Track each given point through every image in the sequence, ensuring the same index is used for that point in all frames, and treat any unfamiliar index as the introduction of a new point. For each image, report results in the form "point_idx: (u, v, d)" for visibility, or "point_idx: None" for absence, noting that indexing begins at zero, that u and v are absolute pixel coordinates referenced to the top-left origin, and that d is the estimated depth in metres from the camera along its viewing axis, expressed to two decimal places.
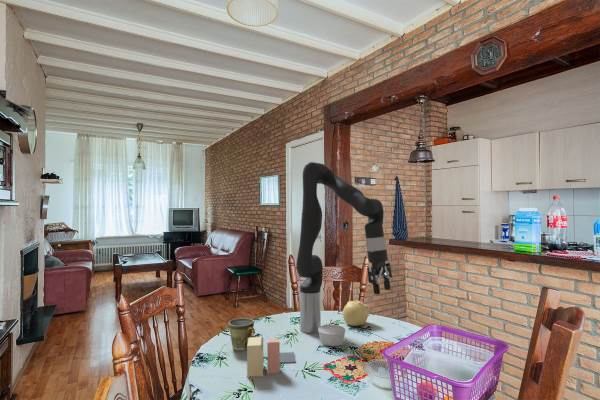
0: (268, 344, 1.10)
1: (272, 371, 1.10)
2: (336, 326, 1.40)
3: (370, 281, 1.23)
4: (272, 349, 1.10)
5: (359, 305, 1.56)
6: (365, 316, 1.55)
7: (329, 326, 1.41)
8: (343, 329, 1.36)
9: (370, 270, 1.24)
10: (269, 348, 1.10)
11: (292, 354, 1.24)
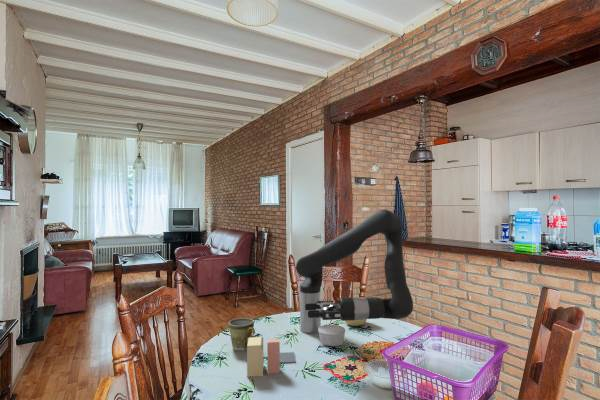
0: (268, 344, 1.10)
1: (272, 371, 1.10)
2: (336, 326, 1.40)
3: (324, 314, 1.07)
4: (272, 349, 1.10)
5: None
6: None
7: (329, 326, 1.41)
8: (343, 329, 1.36)
9: (336, 315, 1.07)
10: (269, 348, 1.10)
11: (292, 354, 1.24)
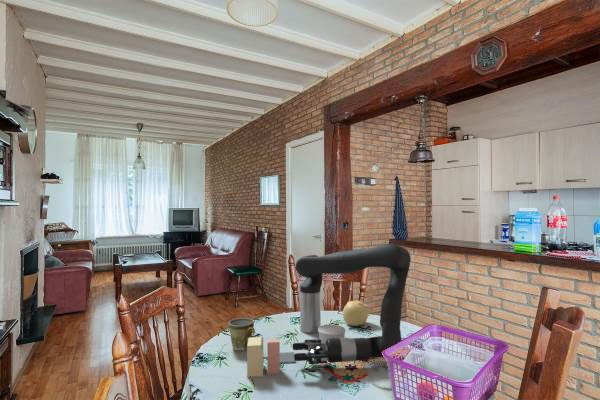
0: (268, 344, 1.10)
1: (272, 371, 1.10)
2: (336, 326, 1.40)
3: (310, 358, 1.06)
4: (272, 349, 1.10)
5: (359, 305, 1.56)
6: (365, 316, 1.55)
7: (329, 326, 1.41)
8: (343, 329, 1.36)
9: (322, 359, 1.06)
10: (269, 348, 1.10)
11: (292, 354, 1.24)
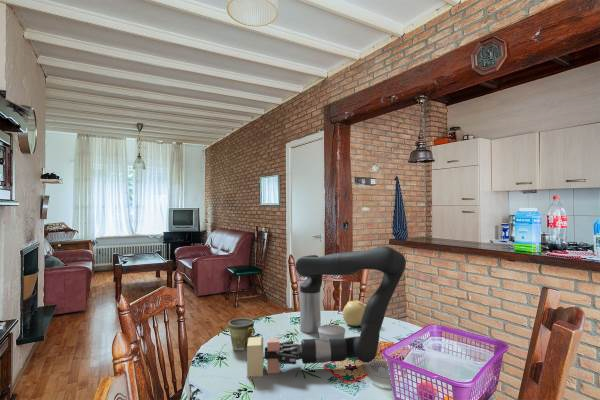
0: (268, 344, 1.10)
1: (272, 371, 1.10)
2: (336, 326, 1.40)
3: (279, 356, 1.08)
4: (272, 349, 1.10)
5: (359, 305, 1.56)
6: None
7: (329, 326, 1.41)
8: (343, 329, 1.36)
9: (290, 359, 1.06)
10: (269, 348, 1.10)
11: None
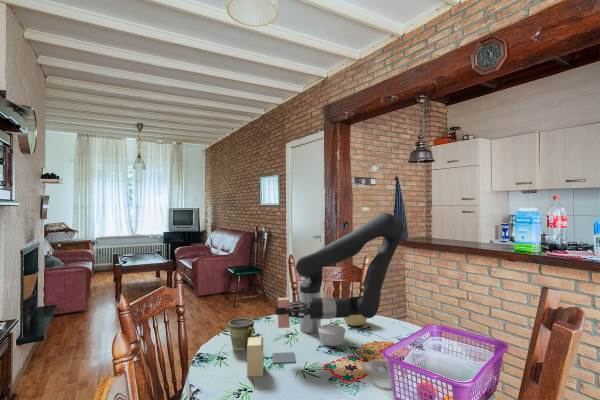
0: (279, 301, 1.20)
1: (282, 326, 1.20)
2: (336, 326, 1.40)
3: (289, 311, 1.18)
4: (282, 306, 1.20)
5: None
6: None
7: (329, 326, 1.41)
8: (343, 329, 1.36)
9: (299, 314, 1.16)
10: (279, 305, 1.20)
11: (292, 354, 1.24)
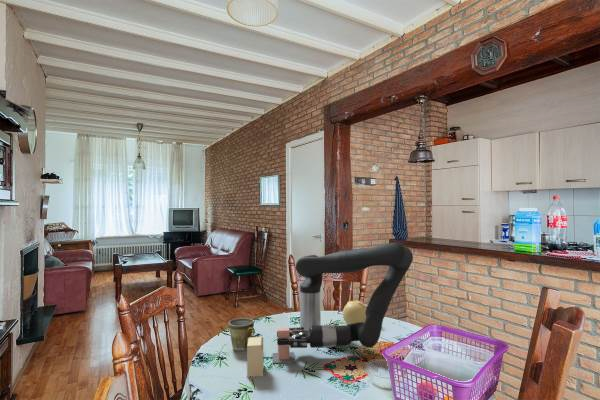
0: (279, 332, 1.20)
1: (282, 357, 1.20)
2: None
3: (291, 342, 1.16)
4: (282, 337, 1.20)
5: (359, 305, 1.56)
6: (365, 316, 1.55)
7: None
8: None
9: (302, 344, 1.15)
10: (279, 336, 1.20)
11: (292, 354, 1.24)
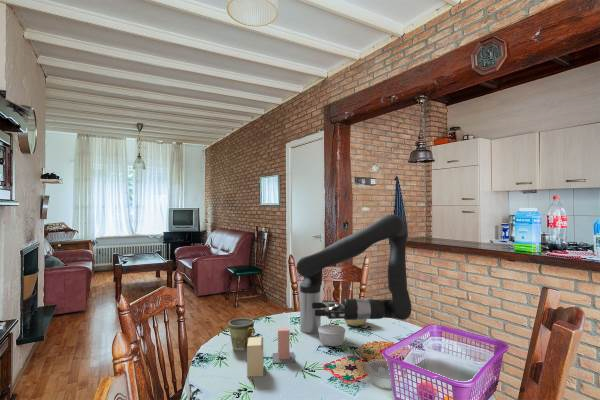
0: (279, 332, 1.20)
1: (282, 357, 1.20)
2: (336, 326, 1.40)
3: (330, 314, 1.17)
4: (282, 337, 1.20)
5: None
6: None
7: (329, 326, 1.41)
8: (343, 329, 1.36)
9: (340, 314, 1.18)
10: (279, 336, 1.20)
11: (292, 354, 1.24)
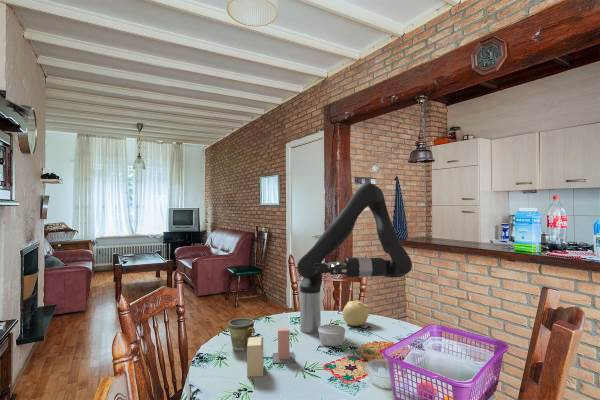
0: (279, 332, 1.20)
1: (282, 357, 1.20)
2: (336, 326, 1.40)
3: (332, 269, 1.19)
4: (282, 337, 1.20)
5: (359, 305, 1.56)
6: (365, 316, 1.55)
7: (329, 326, 1.41)
8: (343, 329, 1.36)
9: (342, 270, 1.19)
10: (279, 336, 1.20)
11: (292, 354, 1.24)
